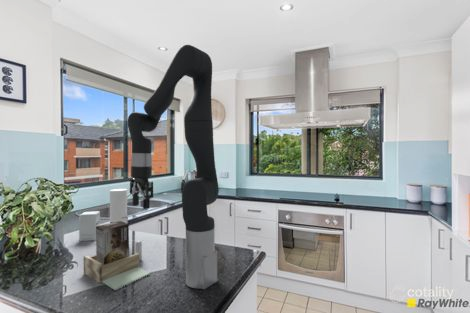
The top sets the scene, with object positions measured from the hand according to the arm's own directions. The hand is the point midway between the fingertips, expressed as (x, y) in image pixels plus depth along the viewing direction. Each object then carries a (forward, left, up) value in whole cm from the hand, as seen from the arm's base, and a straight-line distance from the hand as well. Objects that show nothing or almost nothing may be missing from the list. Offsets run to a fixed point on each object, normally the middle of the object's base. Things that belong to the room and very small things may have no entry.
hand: (140, 207), depth 96 cm
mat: (-9, +11, -21) cm, 25 cm away
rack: (+1, +10, -21) cm, 23 cm away
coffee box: (+1, +10, -21) cm, 23 cm away
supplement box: (+44, 0, -21) cm, 49 cm away
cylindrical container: (+24, -4, -21) cm, 32 cm away
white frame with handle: (+1, +8, -21) cm, 22 cm away
